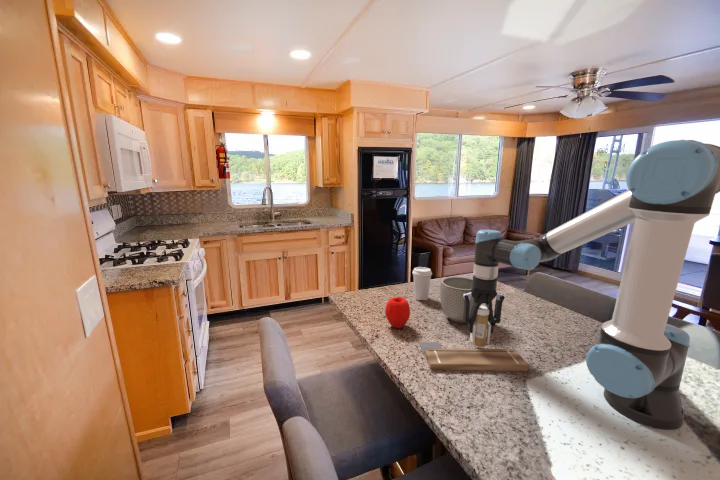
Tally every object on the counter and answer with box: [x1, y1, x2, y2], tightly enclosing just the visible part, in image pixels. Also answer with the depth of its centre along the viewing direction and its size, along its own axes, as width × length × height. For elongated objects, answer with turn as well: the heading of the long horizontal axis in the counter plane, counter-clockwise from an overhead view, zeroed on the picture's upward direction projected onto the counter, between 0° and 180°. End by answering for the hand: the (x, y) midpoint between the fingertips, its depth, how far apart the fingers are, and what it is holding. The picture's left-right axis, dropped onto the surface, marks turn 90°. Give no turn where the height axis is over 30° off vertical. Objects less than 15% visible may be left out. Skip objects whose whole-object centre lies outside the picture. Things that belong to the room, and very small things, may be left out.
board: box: [424, 347, 530, 372], centre depth 99 cm, size 9×30×2 cm, turn 89°
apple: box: [384, 296, 411, 329], centre depth 122 cm, size 10×10×12 cm
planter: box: [439, 276, 483, 324], centre depth 128 cm, size 17×17×16 cm
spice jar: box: [472, 305, 489, 348], centre depth 105 cm, size 5×5×13 cm
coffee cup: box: [412, 266, 433, 301], centre depth 151 cm, size 10×10×15 cm
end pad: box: [418, 341, 442, 355], centre depth 107 cm, size 7×7×1 cm
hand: (479, 340), depth 106 cm, fingers closed on spice jar, 4 cm apart
